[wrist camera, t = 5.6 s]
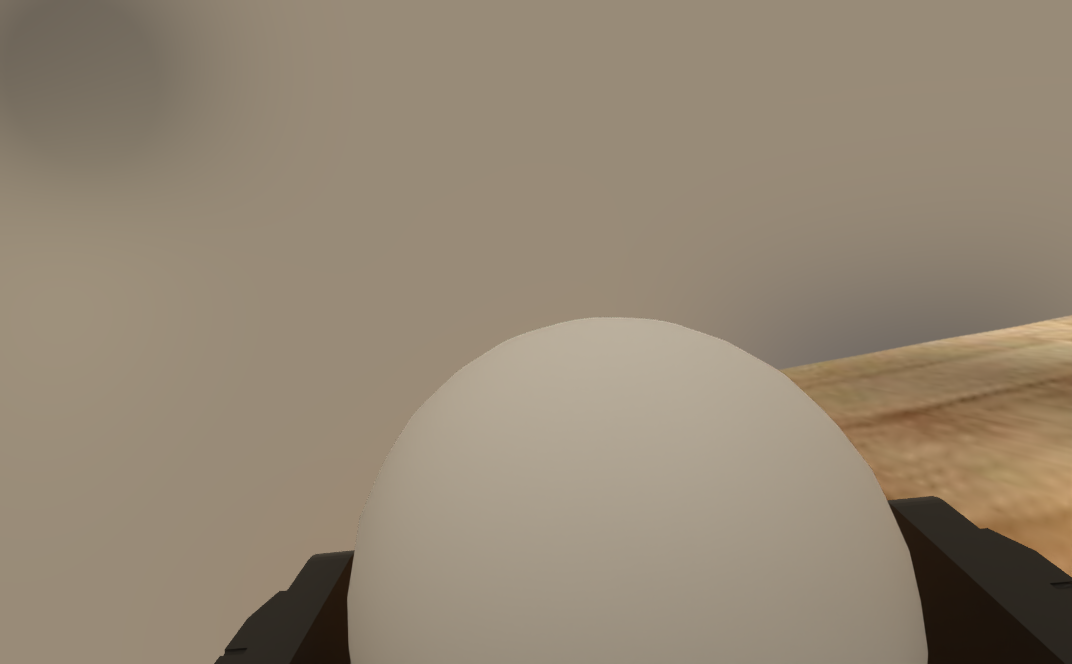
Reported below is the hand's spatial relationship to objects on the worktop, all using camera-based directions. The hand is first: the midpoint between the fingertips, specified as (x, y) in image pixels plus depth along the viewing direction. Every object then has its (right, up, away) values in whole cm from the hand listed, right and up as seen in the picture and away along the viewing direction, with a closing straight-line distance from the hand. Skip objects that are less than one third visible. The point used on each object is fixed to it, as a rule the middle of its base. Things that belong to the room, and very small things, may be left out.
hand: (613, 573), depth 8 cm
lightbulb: (+1, -7, 0) cm, 7 cm away
